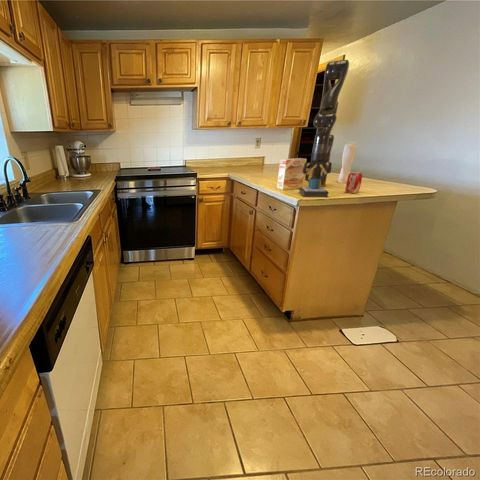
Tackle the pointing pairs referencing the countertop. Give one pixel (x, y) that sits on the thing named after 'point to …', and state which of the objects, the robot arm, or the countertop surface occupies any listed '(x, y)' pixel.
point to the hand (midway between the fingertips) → (314, 180)
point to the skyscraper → (347, 161)
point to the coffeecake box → (291, 173)
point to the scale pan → (313, 189)
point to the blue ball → (314, 183)
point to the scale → (314, 193)
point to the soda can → (353, 182)
